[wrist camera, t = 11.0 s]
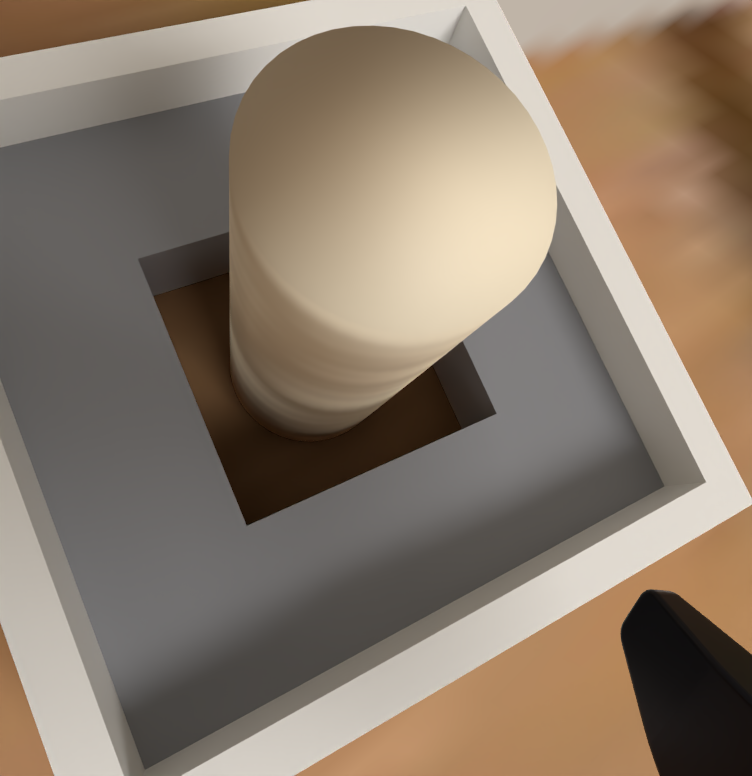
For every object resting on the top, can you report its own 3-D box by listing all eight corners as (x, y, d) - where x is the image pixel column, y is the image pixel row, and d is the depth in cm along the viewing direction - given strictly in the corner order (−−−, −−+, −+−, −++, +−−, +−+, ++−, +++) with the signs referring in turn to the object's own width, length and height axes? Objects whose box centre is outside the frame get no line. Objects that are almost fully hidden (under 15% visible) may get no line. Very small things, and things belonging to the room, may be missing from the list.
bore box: (648, 508, 19) (754, 503, 15) (131, 794, 14) (95, 892, 10) (434, 71, 21) (480, -32, 17) (-87, 195, 16) (-187, 91, 12)
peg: (411, 353, 18) (608, 163, 9) (326, 472, 17) (451, 404, 7) (292, 264, 18) (361, -32, 8) (196, 378, 17) (151, 180, 7)
